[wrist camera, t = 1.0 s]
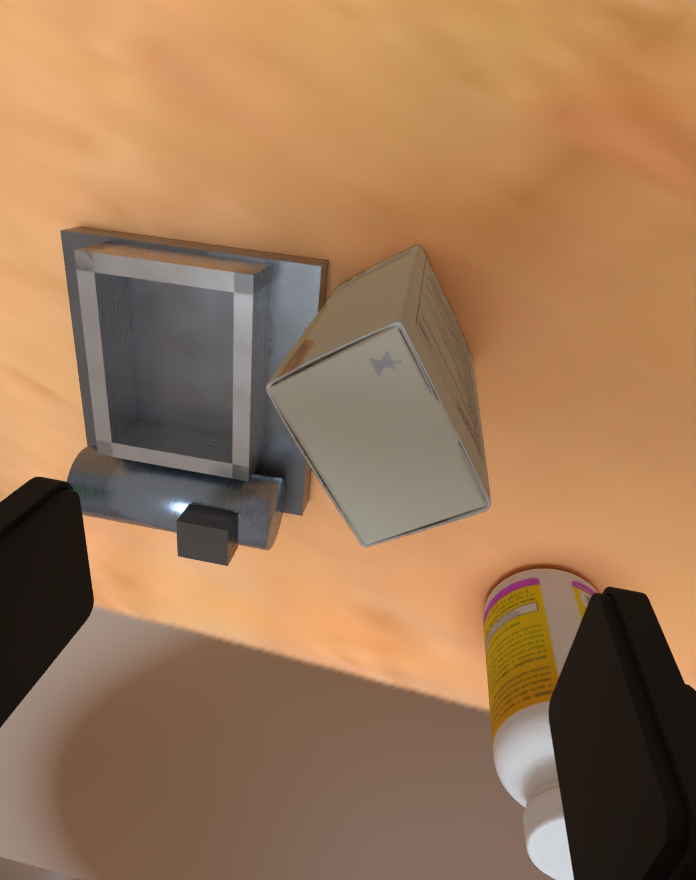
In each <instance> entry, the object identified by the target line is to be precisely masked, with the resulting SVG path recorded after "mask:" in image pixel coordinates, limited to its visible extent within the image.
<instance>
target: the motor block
mask: <svg viewBox="0 0 696 880" xmlns="http://www.w3.org/2000/svg"><path fill="white" fill-rule="evenodd" d="M61 238H62V246H63V254H64V262H65V270H66V278H67V286H68V294H69V302H70V310H71V318H72V326H73V334H74V342H75V350H76V358H77V366H78V374H79V382H80V390H81V398H82V406H83V414H84V422H85V430H86V438H87V446H88V447H86V448H85V449H83V450H82V451H81V452H80V453H79V454H78V456H77V457H76V459H75V460H74V462H73V464H72V466H71V469H70V472H69V475H68V479H67V482H68V483H70V485H71V486H72V488H73V491H75V492H77V493H78V495H79V497H80V502H81V510H82V515H85V516H91V517H96V518H101V519H106V520H112V521H117V522H122V523H127V524H133V525H138V526H143V527H148V528H153V529H159V530H164V531H169V532H174V533H177V547H178V556H180V557H185V558H190V559H195V560H200V561H205V562H210V563H215V564H221V565H226V566H228V564H229V563H230V561H231V559H232V557H233V555H234V553H235V552H236V550H237V548H238V545H242V546H248V547H253V548H258V549H263V550H270V549H271V547H272V546H273V544H274V542H275V539H276V537H277V534H278V530H279V527H280V523H281V518H282V514H283V512H285V513H290V514H296V515H301V516H302V515H303V512H304V510H305V508H306V505H307V503H308V500H309V488H310V475H311V467H310V466H309V464H308V462H307V461H306V459H305V458H304V456H303V454H302V453H301V451H300V449H299V448H298V446H297V445H296V443H295V442H294V439H293V438H292V436H291V434H290V433H289V431H288V429H287V427H286V426H285V424H284V423H283V421H282V419H281V417H280V415H279V413H278V412H277V410H276V408H275V406H274V404H273V402H272V400H271V399H270V397H269V395H268V393H267V391H266V384H267V383H268V382H269V380H270V379H271V377H272V376H273V375H274V373H275V372H276V370H277V369H278V367H279V366H280V365H281V363H282V362H283V361H284V359H285V358H286V356H287V355H288V354H289V352H290V351H291V350H292V348H293V347H294V345H295V344H296V342H297V341H298V340H299V338H300V337H301V336H302V334H303V333H304V332H305V330H306V329H307V327H308V326H309V325H310V323H311V322H312V321H313V319H314V318H315V317H316V315H317V314H318V313H319V311H320V310H321V308H322V307H323V306H324V304H325V294H326V282H327V270H328V260H320V259H313V258H306V257H298V256H291V255H284V254H276V253H269V252H262V251H254V250H247V249H240V248H232V247H225V246H218V245H210V244H203V243H196V242H188V241H181V240H174V239H166V238H159V237H152V236H144V235H137V234H130V233H122V232H115V231H108V230H100V229H93V228H86V227H76V228H71V229H65V230H61Z"/></svg>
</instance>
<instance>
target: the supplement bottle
mask: <svg viewBox="0 0 696 880" xmlns="http://www.w3.org/2000/svg"><path fill="white" fill-rule="evenodd" d="M594 593H598V592H597V590H596V589H595V588H594V587H593V586H592V585H591V584H589V583H588V582H587V581H585V580H584V579H582V578H580V577H579V576H577V575H574V574H572V573H569V572H566V571H562V570H556V569H531V570H526V571H522V572H519V573H516V574H514V575H512V576H510V577H508V578H506V579H505V580H503V581H502V582H501V583H499V584H498V585H497V586H496V587H495V588H494V589H493V591H492V592H491V593H490V595H489V597H488V599H487V601H486V604H485V607H484V615H483V622H484V637H485V652H486V665H487V678H488V691H489V704H490V716H491V730H492V744H493V754H494V762H495V767H496V770H497V773H498V776H499V778H500V780H501V782H502V784H503V785H504V787H505V788H506V789H507V791H508V792H509V793H510V795H511V796H512V797H513V798H514V799H515V800H516V801H518V802H519V803H520V804H521V805H523V806H524V807H525V808H526V809H525V812H524V815H523V824H524V832H525V840H526V847H527V851H528V854H529V856H530V858H531V860H532V862H533V863H534V864H535V865H536V866H537V867H538V868H539V869H540V870H541V871H542V872H544V873H545V874H547V875H549V876H550V877H552V878H554V879H556V880H574V877H573V871H572V864H571V858H570V852H569V845H568V839H567V833H566V826H565V820H564V814H563V807H562V801H561V794H560V788H559V782H558V775H557V769H556V763H555V756H554V750H553V744H552V737H551V731H550V725H549V703H550V699H551V696H552V693H553V691H554V688H555V686H556V683H557V681H558V678H559V676H560V673H561V671H562V668H563V666H564V663H565V661H566V658H567V656H568V653H569V651H570V648H571V646H572V643H573V641H574V638H575V636H576V633H577V631H578V628H579V626H580V623H581V621H582V618H583V616H584V613H585V611H586V608H587V606H588V603H589V601H590V598H591V596H592V595H593V594H594Z"/></svg>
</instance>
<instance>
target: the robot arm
mask: <svg viewBox="0 0 696 880" xmlns="http://www.w3.org/2000/svg"><path fill="white" fill-rule="evenodd" d="M93 603H94V597H93V590H92V583H91V575H90V568H89V561H88V553H87V546H86V539H85V532H84V524H83V517H82V510H81V502H80V497H79V495H78V493H77V492H75V491H73V488H72V486H71V485H70V483H68V482H65V481H60V480H54V479H49V478H44V477H34V478H32V479H30V480H29V481H28V482H26V483H25V484H24V485H22V486H21V487H20V488H18V489H17V490H16V491H14V492H13V493H12V494H11V495H9V496H8V497H7V498H5V499H4V500H3V501H1V502H0V727H1V726H2V725H3V723H4V722H5V721H6V720H7V719H8V717H9V716H10V715H11V714H12V712H13V711H14V710H15V708H16V707H17V706H18V705H19V704H20V702H21V701H22V700H23V699H24V697H25V696H26V695H27V694H28V692H29V691H30V690H31V689H32V687H33V686H34V685H35V684H36V682H37V681H38V680H39V679H40V678H41V676H42V675H43V674H44V673H45V671H46V670H47V669H48V667H49V666H50V665H51V664H52V663H53V661H54V660H55V659H56V658H57V656H58V655H59V654H60V652H61V651H62V650H63V649H64V648H65V646H66V645H67V644H68V643H69V641H70V640H71V639H72V638H73V636H74V635H75V634H76V633H77V631H78V630H79V629H80V628H81V626H82V625H83V624H84V623H85V621H86V620H87V619H88V617H89V616H90V613H91V611H92V608H93ZM549 725H550V731H551V737H552V744H553V750H554V756H555V763H556V769H557V775H558V782H559V788H560V794H561V801H562V807H563V814H564V820H565V826H566V833H567V839H568V845H569V852H570V858H571V864H572V871H573V877H574V880H696V691H695V690H694V689H693V688H692V687H691V686H689V685H686V684H685V683H684V681H683V678H682V676H681V674H680V671H679V669H678V667H677V664H676V662H675V660H674V657H673V655H672V653H671V650H670V648H669V646H668V643H667V641H666V638H665V636H664V634H663V631H662V629H661V627H660V624H659V622H658V620H657V617H656V615H655V613H654V610H653V608H652V606H651V603H650V601H649V599H648V597H647V596H646V595H645V594H644V593H640V592H635V591H630V590H625V589H619V588H614V587H607V588H606V589H605V590H604V591H603V593H602V594H600V593H594V594H593V595H592V596H591V598H590V601H589V603H588V606H587V608H586V611H585V613H584V616H583V618H582V621H581V623H580V626H579V628H578V631H577V633H576V636H575V638H574V641H573V643H572V646H571V648H570V651H569V653H568V656H567V658H566V661H565V663H564V666H563V668H562V671H561V673H560V676H559V678H558V681H557V683H556V686H555V688H554V691H553V693H552V696H551V699H550V703H549ZM0 880H84V879H80V878H77V877H73V876H69V875H66V874H62V873H58V872H55V871H51V870H47V869H43V868H40V867H36V866H32V865H28V864H25V863H21V862H17V861H13V860H9V859H6V858H2V857H0Z"/></svg>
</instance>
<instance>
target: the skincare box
mask: <svg viewBox="0 0 696 880" xmlns="http://www.w3.org/2000/svg"><path fill="white" fill-rule="evenodd" d="M266 391H267V393H268V395H269V397H270V399H271V400H272V402H273V404H274V406H275V408H276V410H277V412H278V413H279V415H280V417H281V419H282V421H283V423H284V424H285V426H286V427H287V429H288V431H289V433H290V434H291V436H292V438H293V439H294V442H295V443H296V445H297V446H298V448H299V449H300V451H301V453H302V454H303V456H304V458H305V459H306V461H307V462H308V464H309V466H310V467H311V469H312V470H313V472H314V473H315V475H316V477H317V478H318V480H319V481H320V483H321V485H322V486H323V488H324V489H325V491H326V492H327V494H328V495H329V497H330V498H331V500H332V502H333V503H334V505H335V506H336V508H337V509H338V511H339V512H340V514H341V515H342V517H343V518H344V520H345V521H346V523H347V524H348V526H349V527H350V529H351V530H352V532H353V533H354V535H355V536H356V538H357V539H358V541H359V542H360V544H361V545H362V546H363V547H370V546H373V545H376V544H379V543H382V542H386V541H389V540H393V539H397V538H400V537H403V536H407V535H410V534H414V533H418V532H421V531H424V530H427V529H430V528H433V527H436V526H440V525H443V524H447V523H450V522H453V521H456V520H460V519H463V518H466V517H469V516H472V515H475V514H478V513H482V512H485V511H487V510H488V509H489V508H490V504H491V498H490V490H489V482H488V474H487V467H486V459H485V451H484V442H483V434H482V426H481V418H480V410H479V403H478V395H477V387H476V379H475V370H474V362H473V358H472V355H471V353H470V350H469V348H468V346H467V343H466V341H465V338H464V336H463V334H462V332H461V329H460V327H459V325H458V322H457V320H456V318H455V316H454V314H453V311H452V309H451V307H450V305H449V303H448V301H447V299H446V296H445V294H444V292H443V290H442V288H441V286H440V284H439V281H438V279H437V277H436V275H435V273H434V271H433V269H432V267H431V265H430V263H429V261H428V259H427V257H426V255H425V253H424V251H423V249H422V248H421V246H420V245H415V246H413V247H411V248H409V249H407V250H405V251H402V252H400V253H398V254H396V255H394V256H392V257H390V258H388V259H386V260H384V261H382V262H380V263H378V264H376V265H374V266H372V267H370V268H368V269H366V270H364V271H362V272H361V273H359V274H357V275H355V276H353V277H352V278H350V279H348V280H347V281H345V282H343V283H341V284H340V285H339V286H338V287H337V288H336V289H335V291H334V292H333V293H332V295H331V296H330V297H329V299H328V300H327V302H326V303H325V304H324V306H323V307H322V308H321V310H320V311H319V313H318V314H317V315H316V317H315V318H314V319H313V321H312V322H311V323H310V325H309V326H308V327H307V329H306V330H305V332H304V333H303V334H302V336H301V337H300V338H299V340H298V341H297V342H296V344H295V345H294V347H293V348H292V350H291V351H290V352H289V354H288V355H287V356H286V358H285V359H284V361H283V362H282V363H281V365H280V366H279V367H278V369H277V370H276V372H275V373H274V375H273V376H272V377H271V379H270V380H269V382H268V383H267V384H266Z"/></svg>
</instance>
